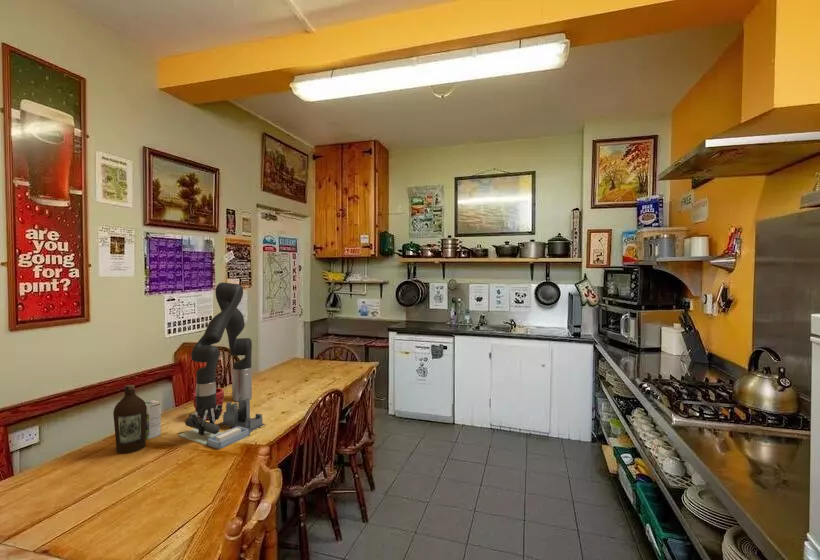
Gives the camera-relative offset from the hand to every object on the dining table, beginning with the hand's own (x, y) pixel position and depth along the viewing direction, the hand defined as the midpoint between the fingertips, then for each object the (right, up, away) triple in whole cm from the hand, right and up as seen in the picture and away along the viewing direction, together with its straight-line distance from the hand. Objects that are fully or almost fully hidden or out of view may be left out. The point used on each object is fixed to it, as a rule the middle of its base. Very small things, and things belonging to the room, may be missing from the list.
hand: (206, 432), depth 162 cm
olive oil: (-25, -2, -10) cm, 27 cm away
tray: (+11, -2, -3) cm, 11 cm away
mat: (-2, -2, +1) cm, 3 cm away
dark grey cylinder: (-3, +1, +1) cm, 3 cm away
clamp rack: (+10, -1, +12) cm, 16 cm away
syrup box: (-24, -2, +1) cm, 25 cm away
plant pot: (-11, -1, +24) cm, 26 cm away
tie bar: (+11, -1, -3) cm, 11 cm away
